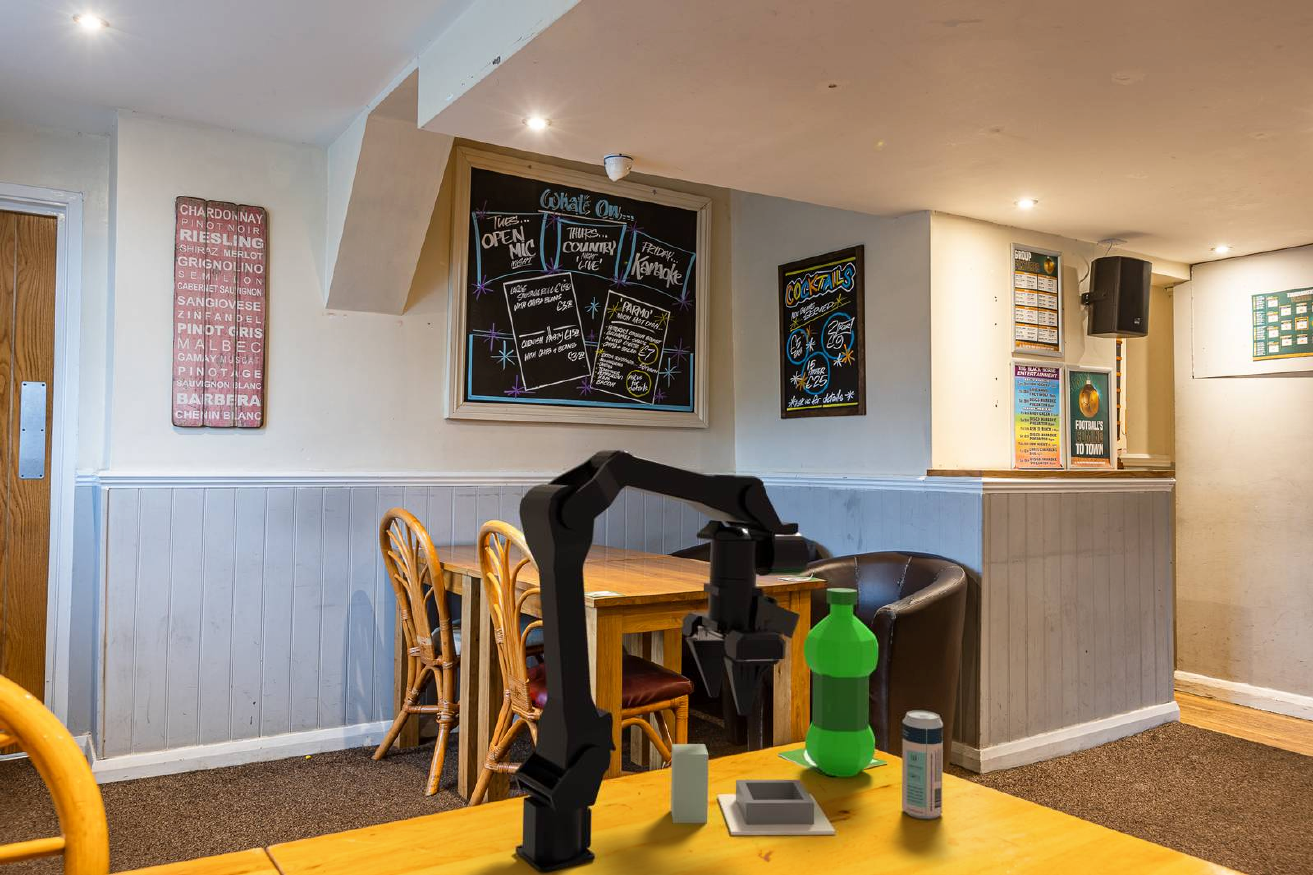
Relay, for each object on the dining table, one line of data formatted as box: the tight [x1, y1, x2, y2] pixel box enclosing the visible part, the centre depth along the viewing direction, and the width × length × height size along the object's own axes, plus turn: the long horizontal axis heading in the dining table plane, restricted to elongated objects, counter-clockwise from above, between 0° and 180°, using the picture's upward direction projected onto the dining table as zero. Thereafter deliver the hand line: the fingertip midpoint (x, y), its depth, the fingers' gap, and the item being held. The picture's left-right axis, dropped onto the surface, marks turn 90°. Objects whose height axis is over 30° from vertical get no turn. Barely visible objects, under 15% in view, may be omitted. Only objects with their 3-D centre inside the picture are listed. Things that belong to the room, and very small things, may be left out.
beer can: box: [901, 710, 944, 820], centre depth 114 cm, size 5×5×12 cm
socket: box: [717, 779, 836, 836], centre depth 112 cm, size 12×12×3 cm
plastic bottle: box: [803, 587, 879, 778], centre depth 130 cm, size 10×10×25 cm
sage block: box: [670, 743, 709, 824], centre depth 112 cm, size 4×4×8 cm
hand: (728, 705), depth 113 cm, fingers open, 9 cm apart
